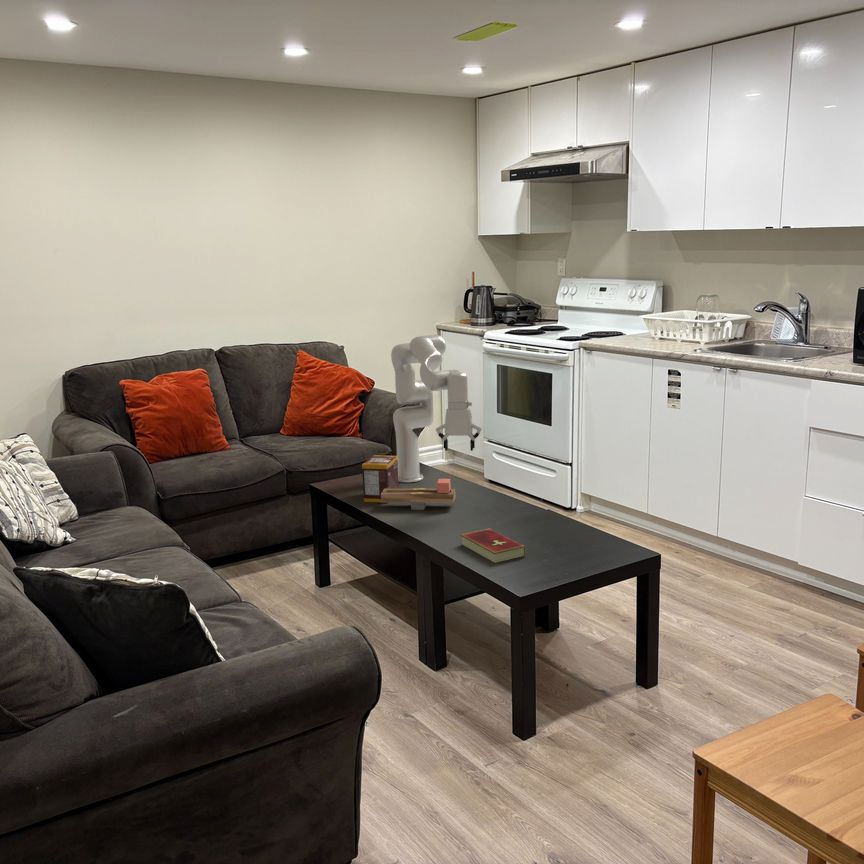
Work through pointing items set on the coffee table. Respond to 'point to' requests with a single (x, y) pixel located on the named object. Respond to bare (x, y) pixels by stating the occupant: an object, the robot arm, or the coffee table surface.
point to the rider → (443, 486)
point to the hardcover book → (493, 545)
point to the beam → (417, 496)
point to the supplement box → (379, 476)
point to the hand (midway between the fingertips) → (459, 450)
